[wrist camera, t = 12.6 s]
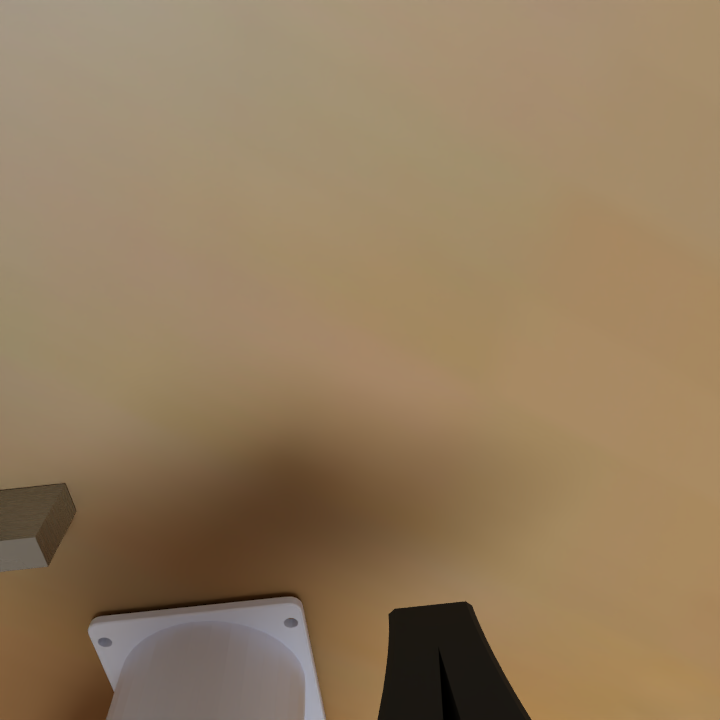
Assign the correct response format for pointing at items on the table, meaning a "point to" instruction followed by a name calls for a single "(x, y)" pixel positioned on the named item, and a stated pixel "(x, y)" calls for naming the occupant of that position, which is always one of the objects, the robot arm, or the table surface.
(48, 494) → the u-shaped bracket
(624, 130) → the table surface
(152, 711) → the robot arm
